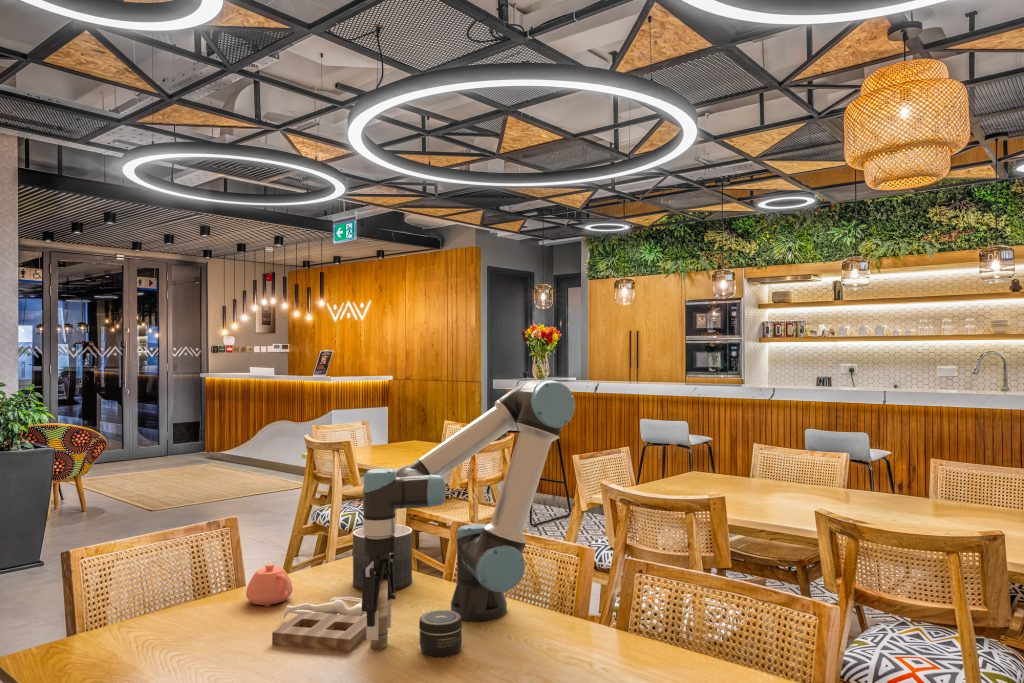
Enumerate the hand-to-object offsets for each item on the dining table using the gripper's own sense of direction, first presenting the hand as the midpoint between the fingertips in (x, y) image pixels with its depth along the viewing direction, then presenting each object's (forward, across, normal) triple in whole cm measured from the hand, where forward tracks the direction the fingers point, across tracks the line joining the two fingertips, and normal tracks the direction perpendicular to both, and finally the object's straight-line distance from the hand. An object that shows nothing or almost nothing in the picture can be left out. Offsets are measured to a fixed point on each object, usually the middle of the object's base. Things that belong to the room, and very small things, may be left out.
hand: (379, 632), depth 164 cm
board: (+3, -2, -15) cm, 15 cm away
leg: (+3, 0, 0) cm, 3 cm away
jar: (+3, -1, +15) cm, 15 cm away
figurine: (+3, -13, -18) cm, 23 cm away
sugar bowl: (+3, -22, -42) cm, 48 cm away
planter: (+3, -44, -18) cm, 48 cm away
